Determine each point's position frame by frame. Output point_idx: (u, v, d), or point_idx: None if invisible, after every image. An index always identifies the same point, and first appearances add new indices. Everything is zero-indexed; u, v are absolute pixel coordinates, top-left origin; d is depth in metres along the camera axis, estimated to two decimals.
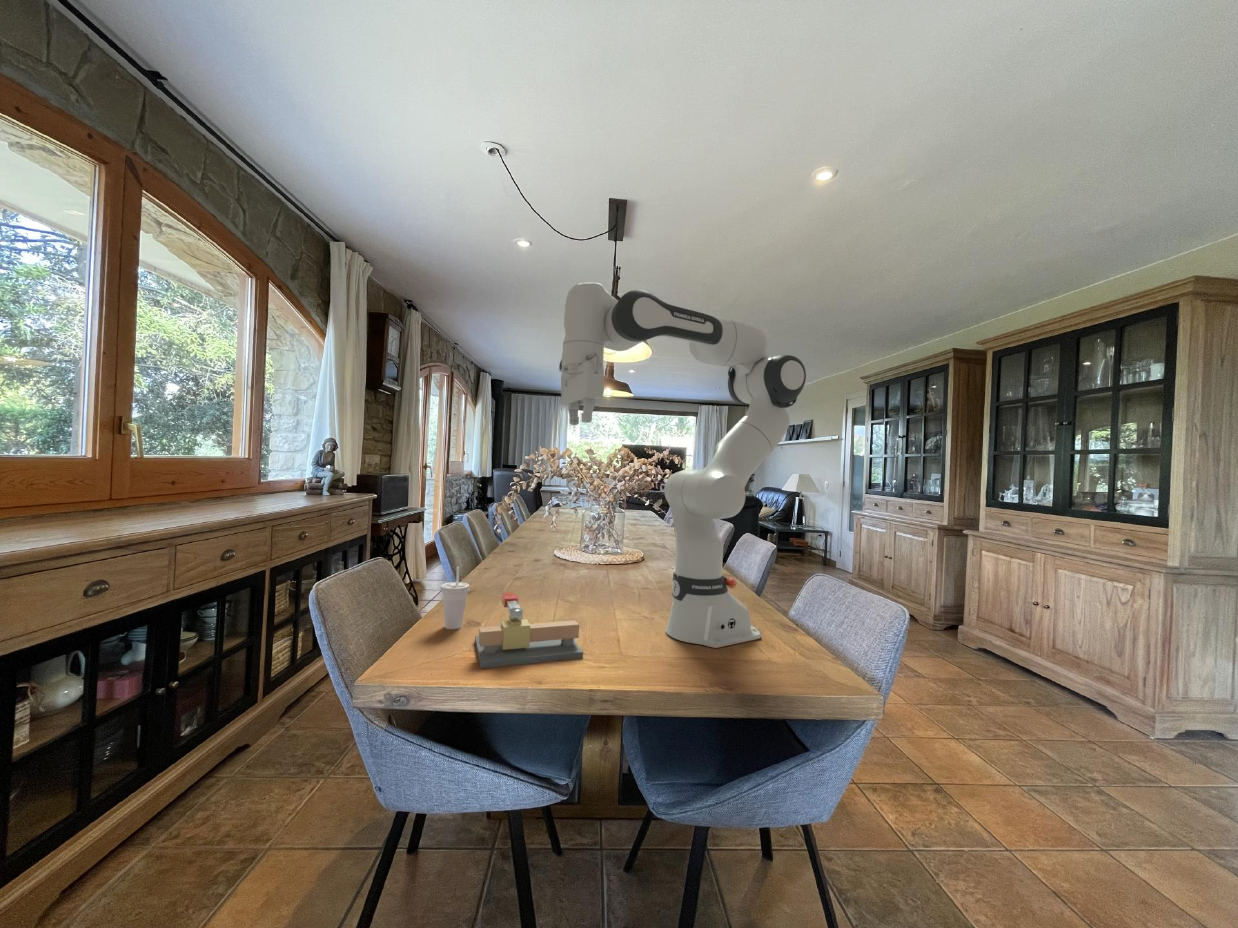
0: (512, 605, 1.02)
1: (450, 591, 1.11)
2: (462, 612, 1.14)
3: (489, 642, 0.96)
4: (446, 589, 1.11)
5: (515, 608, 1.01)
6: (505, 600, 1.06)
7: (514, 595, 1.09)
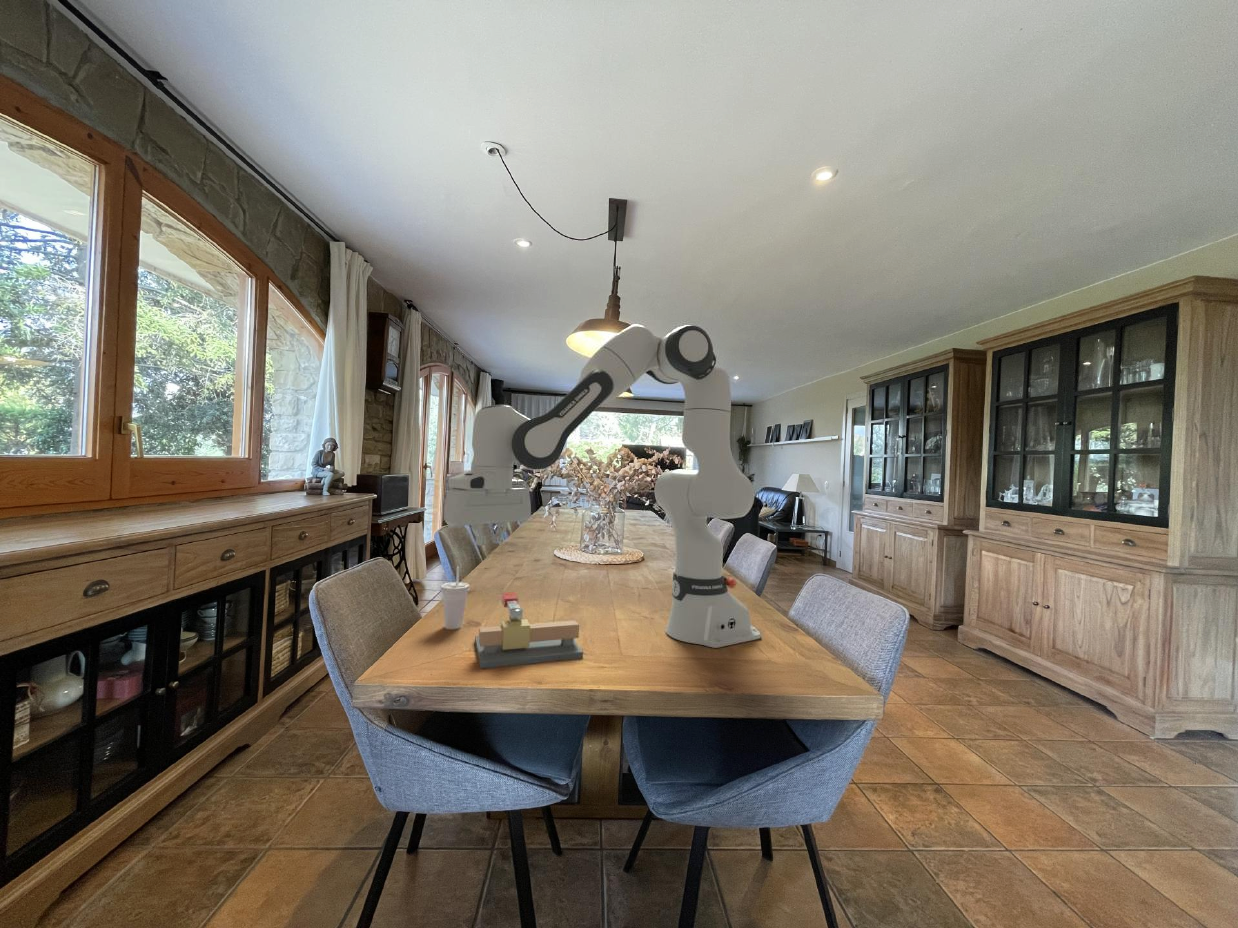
0: (512, 605, 1.02)
1: (450, 591, 1.11)
2: (462, 612, 1.14)
3: (489, 642, 0.96)
4: (446, 589, 1.11)
5: (515, 608, 1.01)
6: (505, 600, 1.06)
7: (514, 595, 1.09)
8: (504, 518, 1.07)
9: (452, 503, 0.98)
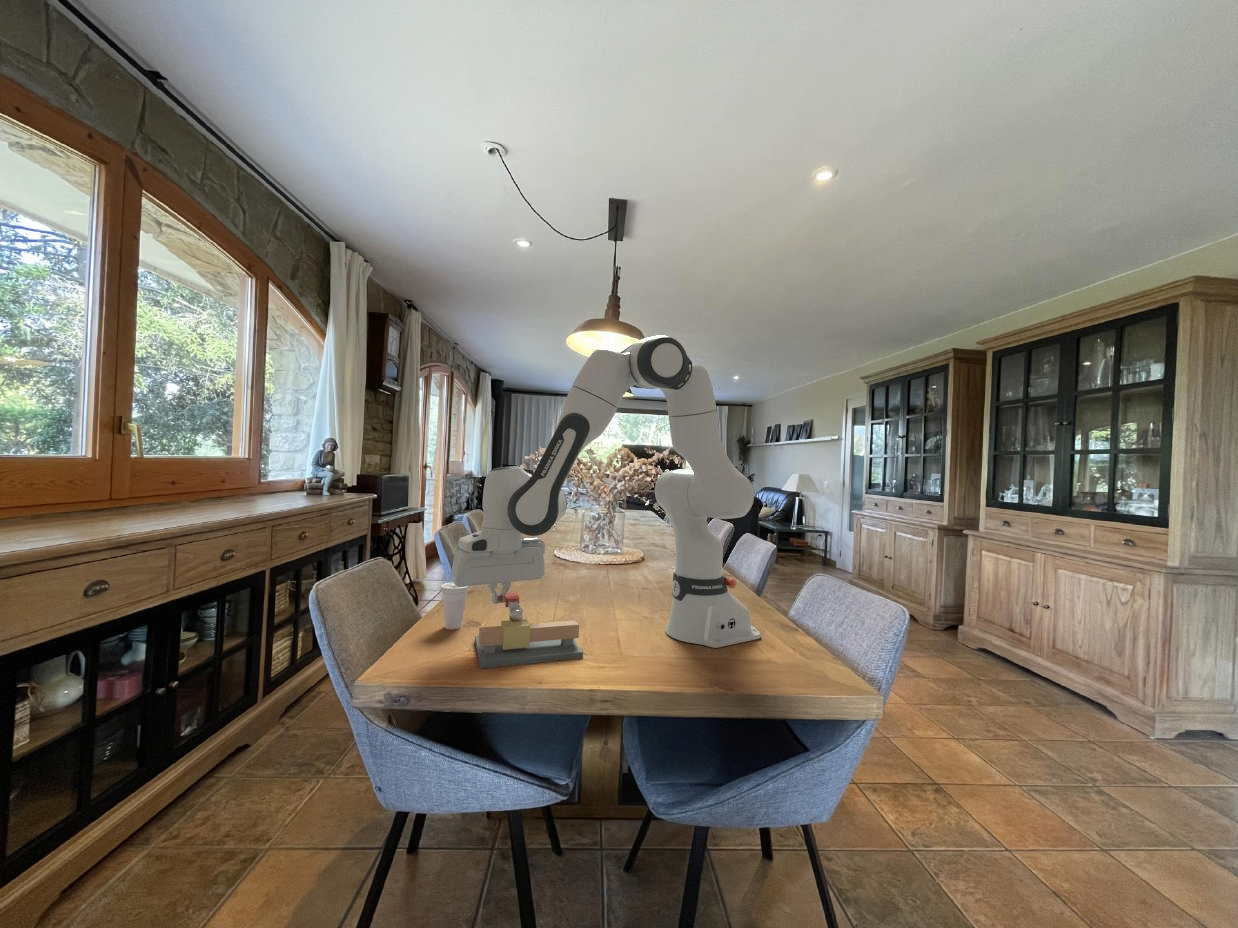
0: (513, 605, 1.02)
1: (450, 591, 1.11)
2: (462, 612, 1.14)
3: (489, 642, 0.96)
4: (446, 589, 1.11)
5: (515, 608, 1.01)
6: (506, 600, 1.06)
7: (516, 595, 1.09)
8: (513, 578, 1.08)
9: (456, 565, 1.02)
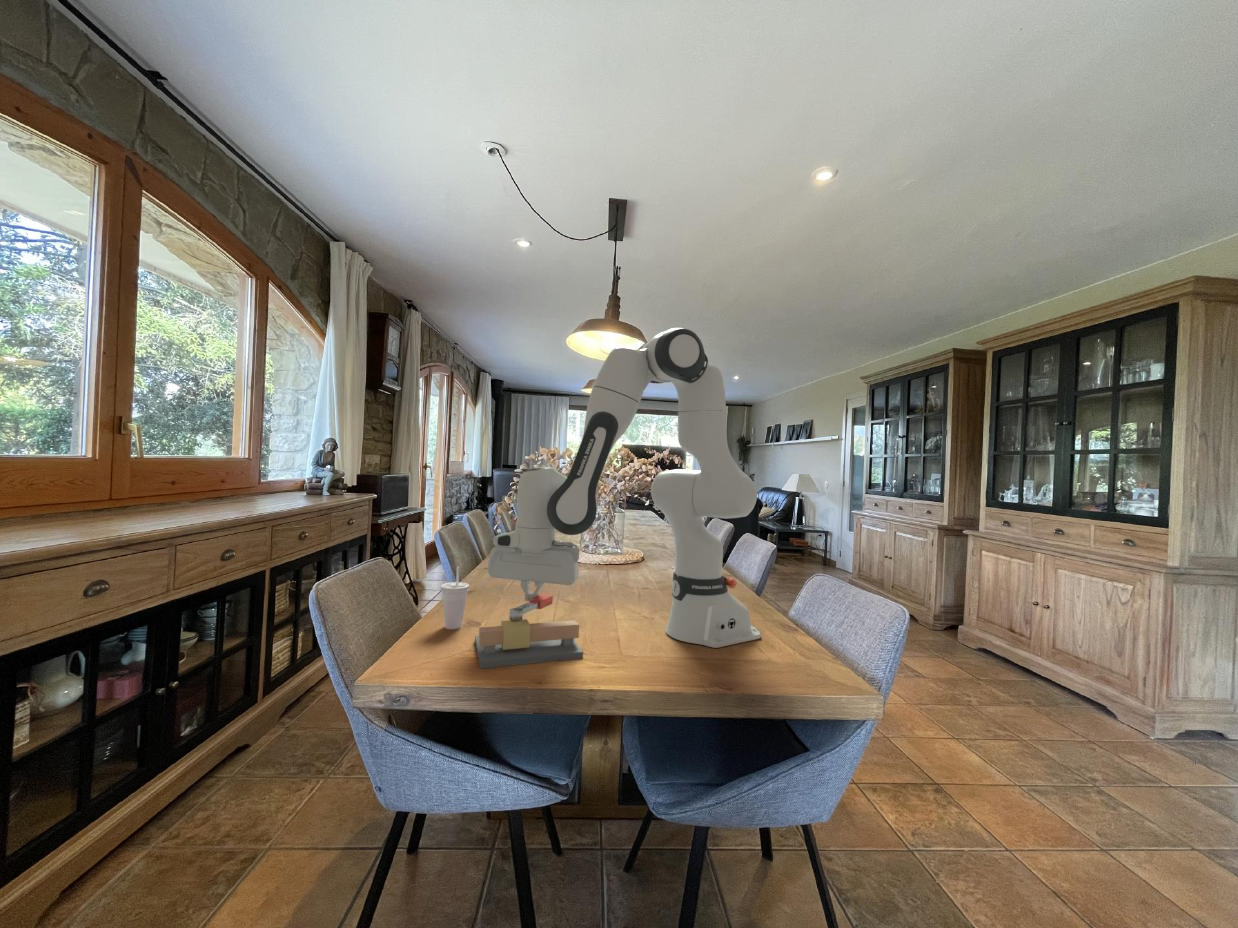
0: (524, 605, 1.03)
1: (450, 591, 1.11)
2: (462, 612, 1.14)
3: (489, 642, 0.96)
4: (446, 589, 1.11)
5: (519, 608, 1.01)
6: (530, 600, 1.06)
7: (545, 598, 1.08)
8: (540, 578, 1.07)
9: None
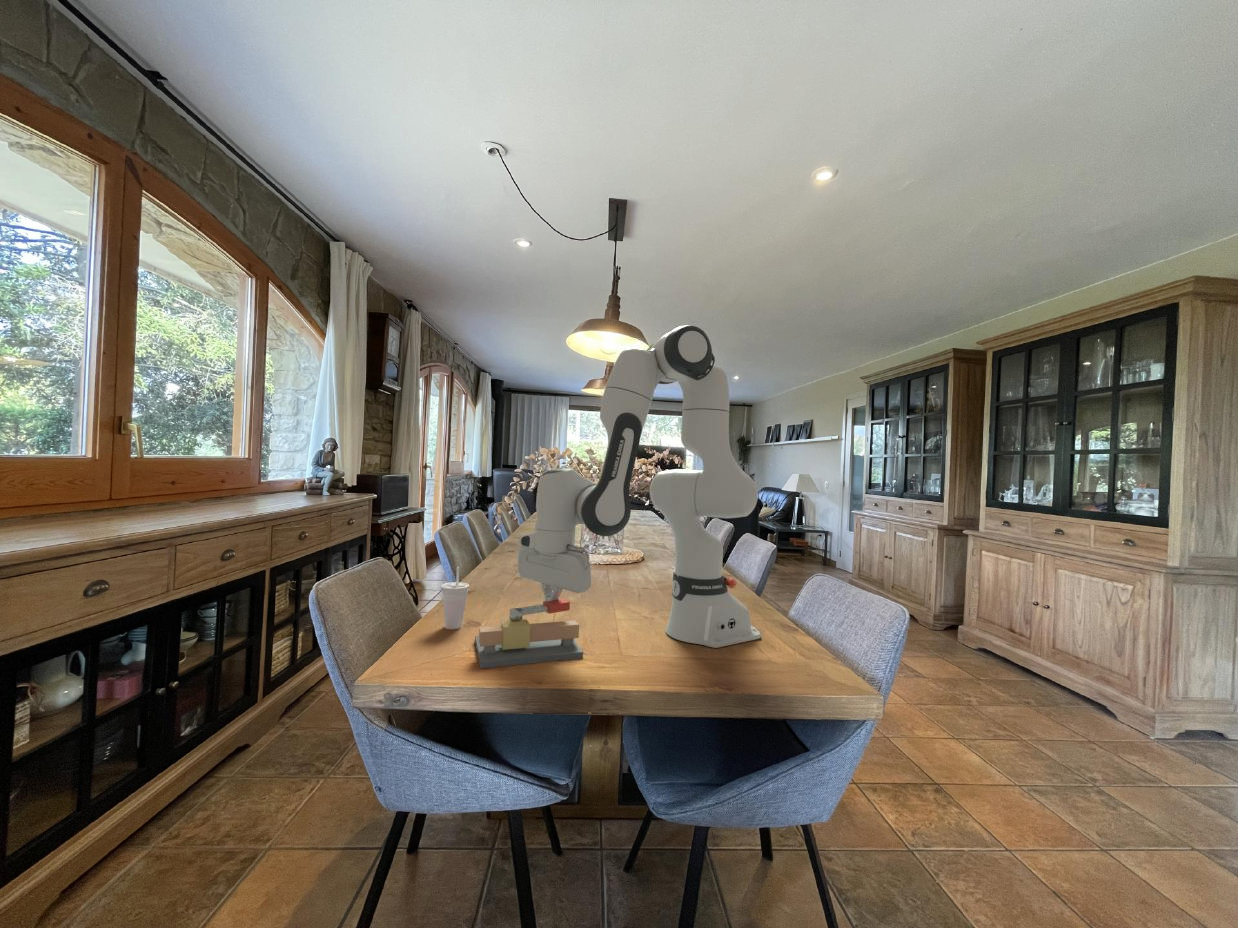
0: (530, 607, 1.02)
1: (450, 591, 1.11)
2: (462, 612, 1.14)
3: (489, 642, 0.96)
4: (446, 589, 1.11)
5: (521, 609, 1.00)
6: None
7: (558, 603, 1.04)
8: (554, 582, 1.05)
9: None
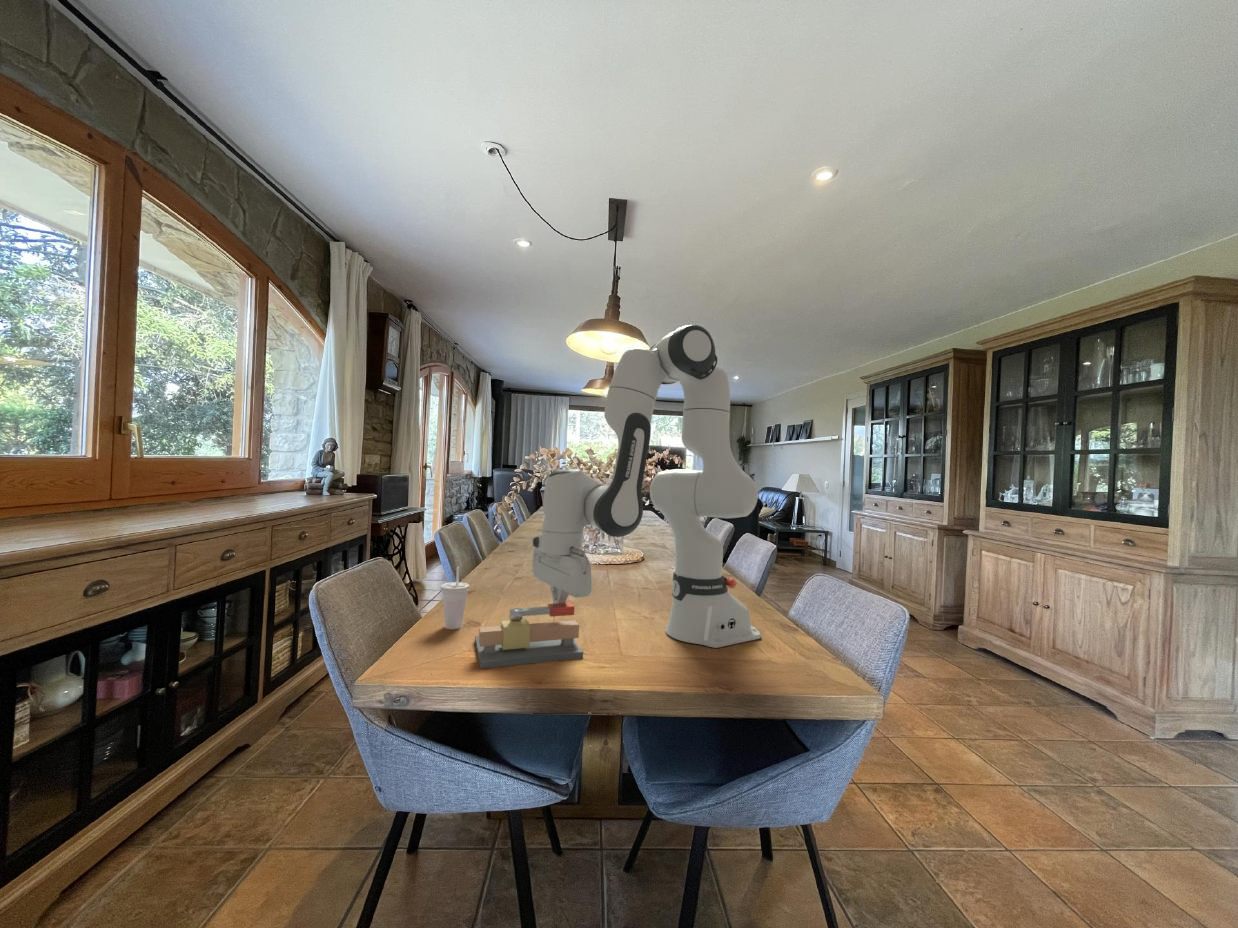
0: (531, 608, 1.01)
1: (450, 591, 1.11)
2: (462, 612, 1.14)
3: (489, 642, 0.96)
4: (446, 589, 1.11)
5: (522, 609, 1.00)
6: None
7: (562, 606, 1.02)
8: (558, 585, 1.03)
9: None
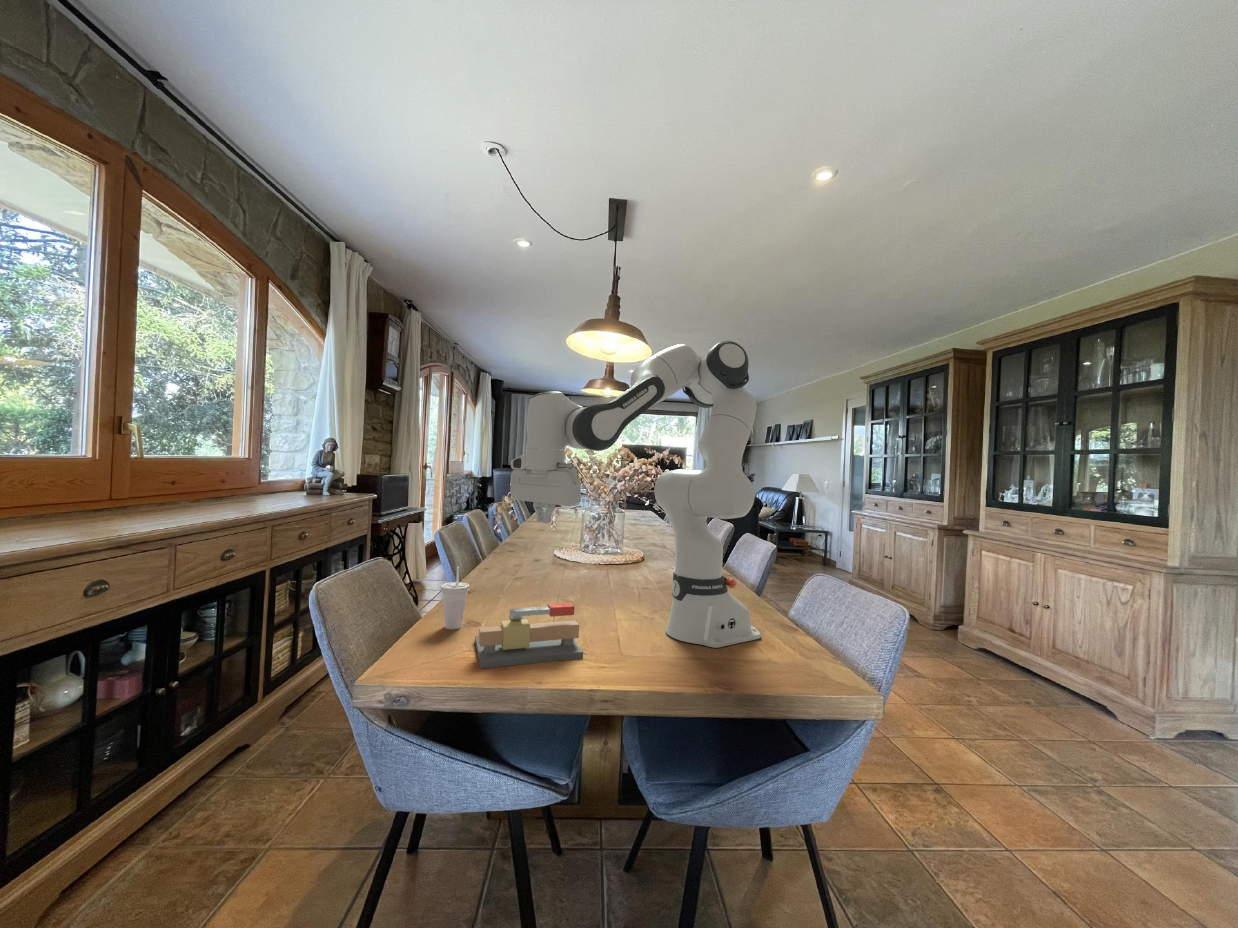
0: (531, 608, 1.01)
1: (450, 591, 1.11)
2: (462, 612, 1.14)
3: (489, 642, 0.96)
4: (446, 589, 1.11)
5: (522, 609, 1.00)
6: None
7: (562, 606, 1.02)
8: (545, 499, 1.09)
9: None
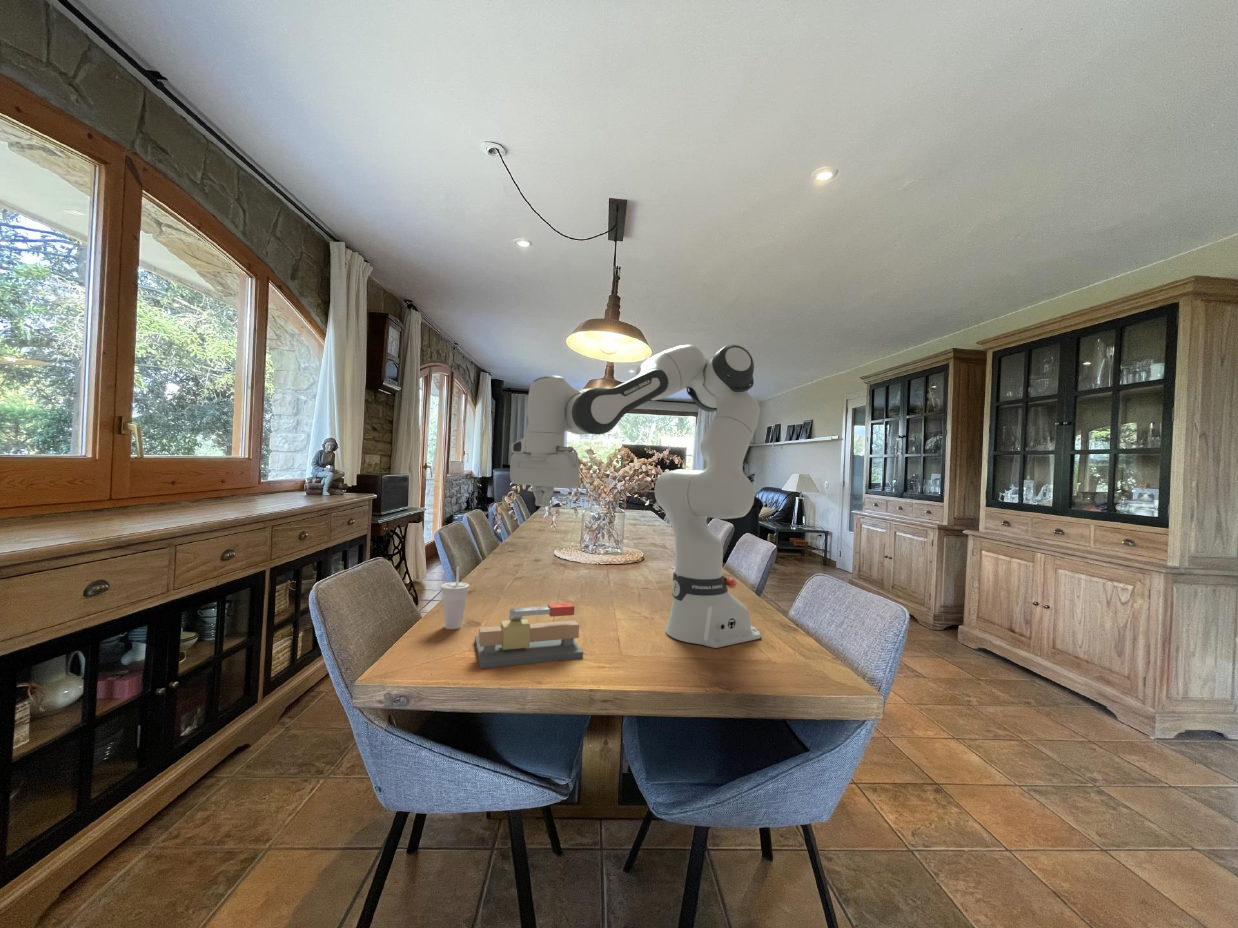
0: (531, 608, 1.01)
1: (450, 591, 1.11)
2: (462, 612, 1.14)
3: (489, 642, 0.96)
4: (446, 589, 1.11)
5: (522, 609, 1.00)
6: None
7: (562, 606, 1.02)
8: (544, 482, 1.10)
9: None
